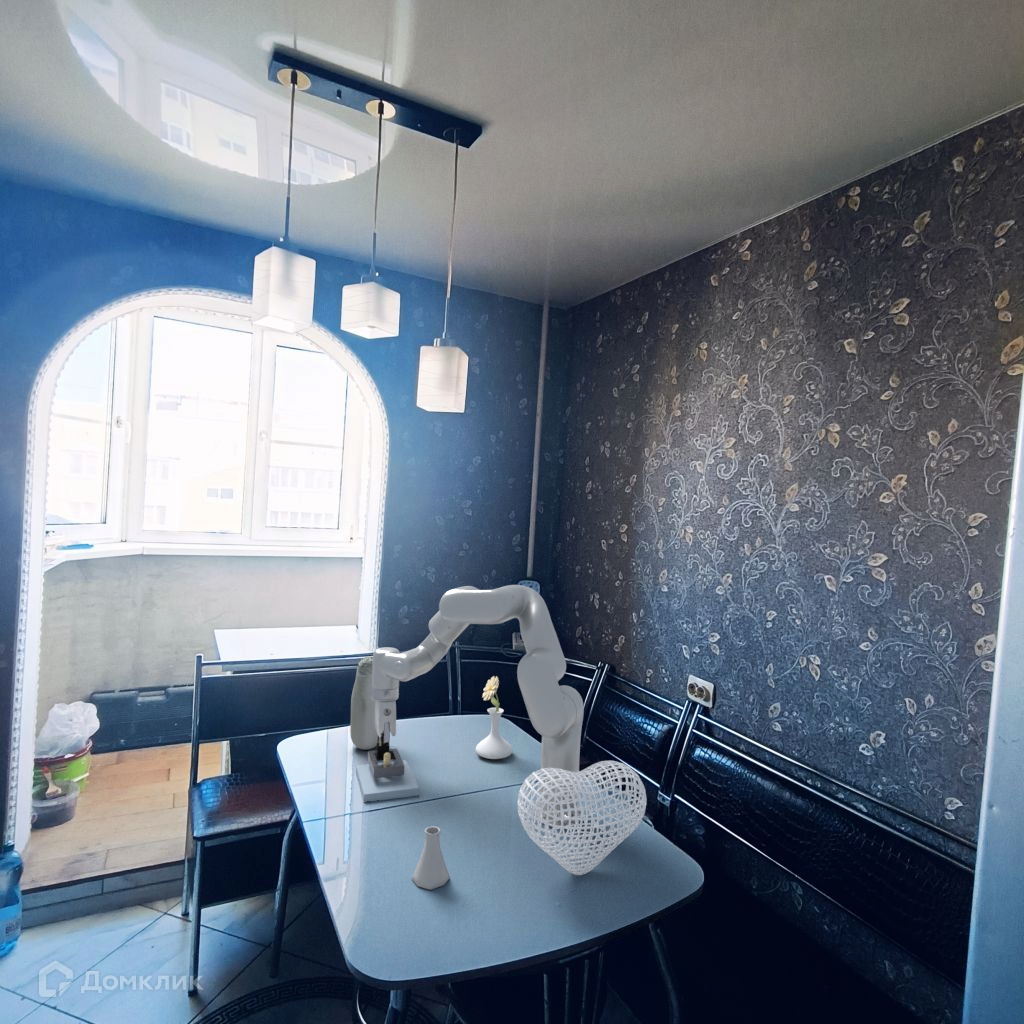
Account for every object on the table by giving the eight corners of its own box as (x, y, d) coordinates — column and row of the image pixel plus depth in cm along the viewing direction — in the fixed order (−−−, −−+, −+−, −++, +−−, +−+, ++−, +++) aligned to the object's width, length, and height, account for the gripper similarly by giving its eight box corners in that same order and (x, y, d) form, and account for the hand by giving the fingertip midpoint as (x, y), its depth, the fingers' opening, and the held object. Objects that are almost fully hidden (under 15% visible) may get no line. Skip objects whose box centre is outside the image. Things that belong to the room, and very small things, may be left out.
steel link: (404, 774, 164) (404, 765, 164) (373, 778, 161) (374, 768, 161) (396, 757, 175) (396, 748, 175) (367, 760, 172) (368, 751, 172)
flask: (431, 864, 129) (433, 817, 129) (456, 878, 125) (458, 829, 125) (405, 880, 124) (407, 830, 124) (430, 895, 119) (432, 843, 119)
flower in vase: (476, 747, 194) (480, 667, 194) (513, 748, 193) (516, 669, 193) (472, 764, 181) (476, 679, 181) (511, 766, 180) (514, 681, 180)
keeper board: (418, 795, 160) (419, 763, 160) (363, 802, 155) (364, 769, 155) (405, 767, 177) (406, 738, 177) (355, 772, 172) (357, 742, 172)
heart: (531, 909, 116) (536, 792, 116) (503, 864, 130) (508, 760, 130) (658, 883, 126) (662, 775, 126) (619, 843, 140) (623, 747, 140)
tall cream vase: (350, 742, 193) (354, 653, 193) (383, 741, 195) (387, 653, 195) (348, 754, 184) (351, 661, 183) (382, 753, 186) (386, 661, 185)
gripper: (403, 700, 167) (400, 767, 167) (393, 684, 181) (391, 746, 181) (375, 702, 164) (372, 770, 164) (367, 685, 179) (365, 748, 179)
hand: (382, 757), depth 173 cm, fingers closed on steel link, 1 cm apart
